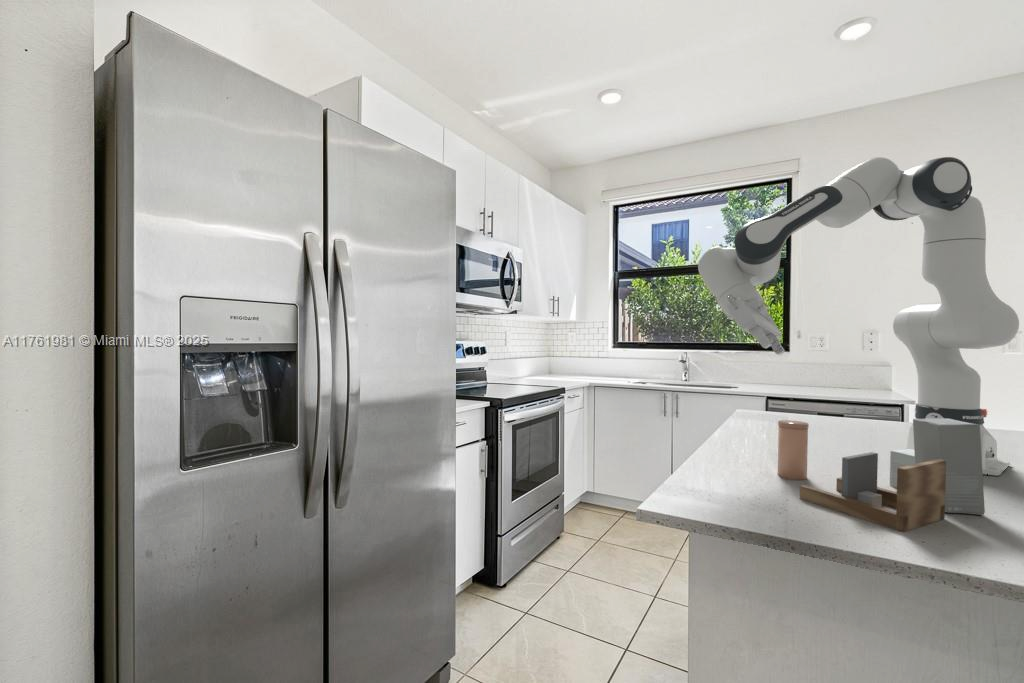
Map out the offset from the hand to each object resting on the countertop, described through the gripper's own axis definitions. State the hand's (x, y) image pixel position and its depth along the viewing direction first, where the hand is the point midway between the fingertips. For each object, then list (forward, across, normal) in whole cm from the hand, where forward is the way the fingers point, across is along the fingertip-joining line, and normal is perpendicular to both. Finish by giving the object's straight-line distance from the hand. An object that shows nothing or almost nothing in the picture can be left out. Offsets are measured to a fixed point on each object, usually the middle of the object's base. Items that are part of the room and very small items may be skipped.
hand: (774, 350), depth 111 cm
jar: (+25, +4, +13) cm, 28 cm away
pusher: (+35, -8, +1) cm, 36 cm away
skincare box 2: (+40, +3, -8) cm, 41 cm away
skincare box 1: (+35, +12, -4) cm, 38 cm away
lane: (+36, -8, +1) cm, 37 cm away
